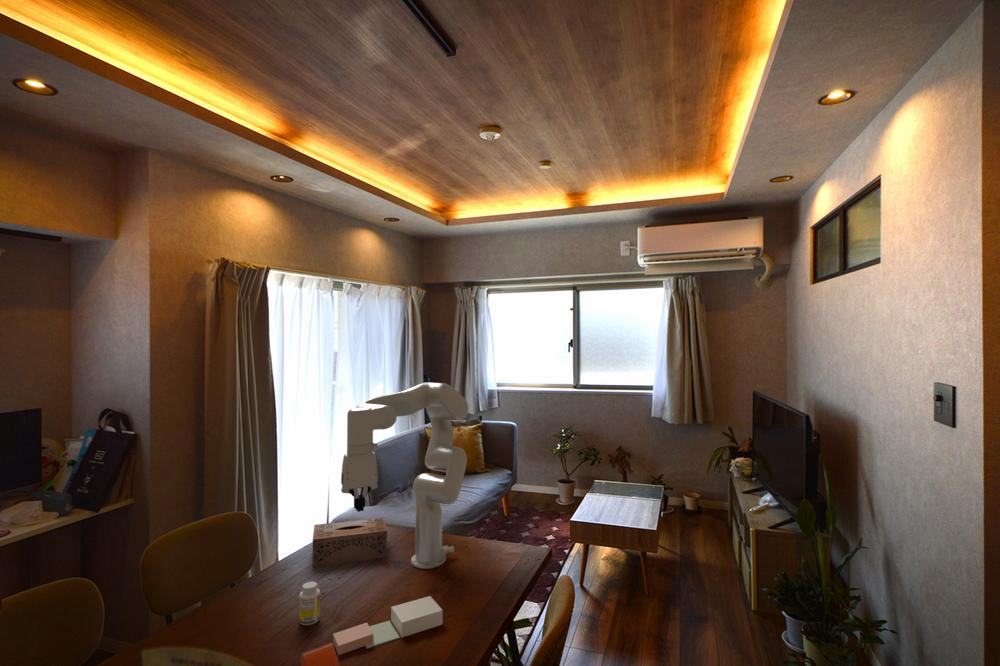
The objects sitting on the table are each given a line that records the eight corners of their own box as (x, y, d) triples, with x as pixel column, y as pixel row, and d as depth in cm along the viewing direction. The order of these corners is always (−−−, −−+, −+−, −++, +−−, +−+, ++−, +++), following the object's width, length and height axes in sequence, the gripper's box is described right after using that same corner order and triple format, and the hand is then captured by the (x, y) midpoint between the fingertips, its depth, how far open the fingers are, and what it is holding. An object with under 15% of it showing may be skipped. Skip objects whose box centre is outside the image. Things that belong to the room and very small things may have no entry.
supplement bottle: (313, 613, 144) (313, 578, 144) (323, 620, 141) (324, 584, 141) (295, 621, 140) (295, 585, 140) (305, 628, 136) (305, 591, 137)
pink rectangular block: (333, 633, 130) (333, 642, 130) (338, 645, 125) (338, 655, 125) (366, 622, 135) (367, 631, 135) (373, 633, 130) (373, 642, 130)
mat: (389, 621, 140) (389, 620, 140) (399, 638, 132) (399, 636, 132) (357, 631, 135) (357, 629, 135) (366, 648, 128) (366, 647, 128)
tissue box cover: (383, 542, 195) (383, 517, 196) (386, 557, 182) (387, 530, 182) (314, 551, 187) (314, 524, 187) (312, 567, 174) (312, 539, 174)
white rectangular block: (430, 609, 146) (430, 595, 146) (442, 624, 139) (442, 610, 139) (390, 621, 140) (391, 607, 140) (401, 637, 133) (401, 622, 133)
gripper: (380, 444, 155) (380, 502, 155) (331, 449, 148) (331, 510, 147) (388, 448, 149) (387, 509, 149) (337, 454, 141) (336, 518, 141)
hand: (359, 509), depth 148 cm, fingers closed
